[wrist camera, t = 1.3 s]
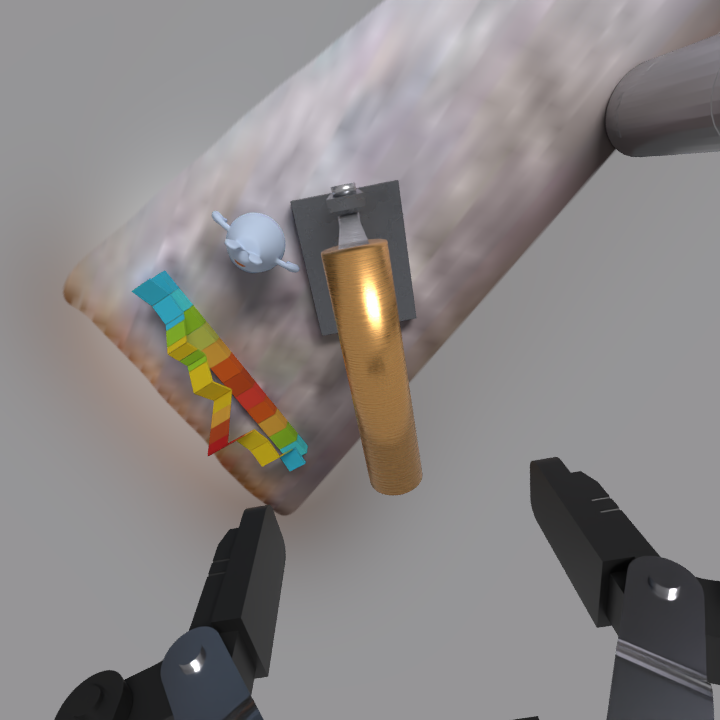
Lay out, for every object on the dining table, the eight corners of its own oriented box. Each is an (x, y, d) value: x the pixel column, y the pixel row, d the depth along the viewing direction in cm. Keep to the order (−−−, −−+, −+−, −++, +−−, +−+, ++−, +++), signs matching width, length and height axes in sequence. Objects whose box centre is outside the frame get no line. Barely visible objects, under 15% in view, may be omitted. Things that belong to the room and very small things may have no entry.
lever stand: (394, 172, 46) (419, 170, 32) (414, 319, 54) (441, 372, 39) (290, 193, 47) (267, 200, 32) (323, 335, 54) (317, 394, 39)
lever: (365, 209, 36) (390, 245, 17) (388, 347, 41) (426, 490, 22) (331, 216, 36) (318, 259, 17) (358, 352, 41) (371, 499, 22)
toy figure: (210, 233, 48) (172, 249, 37) (236, 186, 46) (204, 188, 35) (288, 284, 51) (274, 313, 40) (316, 242, 49) (308, 260, 38)
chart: (145, 283, 51) (73, 323, 37) (165, 270, 50) (99, 304, 36) (290, 454, 62) (275, 533, 48) (307, 444, 61) (298, 521, 47)
